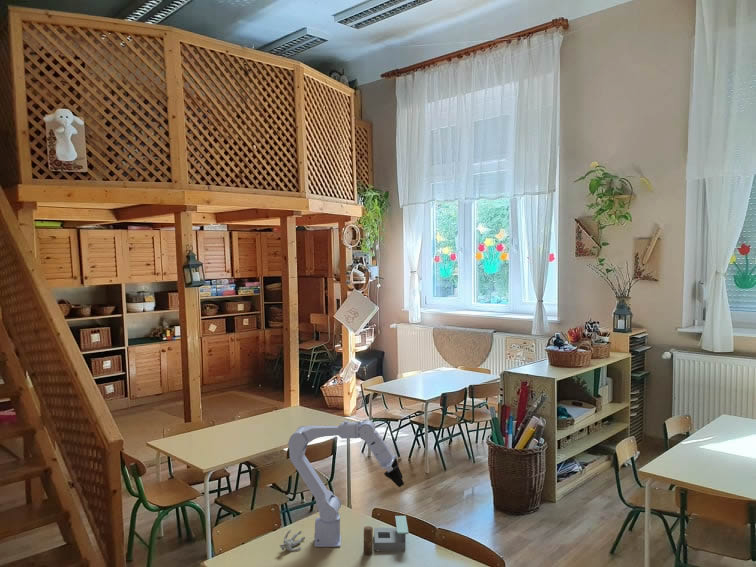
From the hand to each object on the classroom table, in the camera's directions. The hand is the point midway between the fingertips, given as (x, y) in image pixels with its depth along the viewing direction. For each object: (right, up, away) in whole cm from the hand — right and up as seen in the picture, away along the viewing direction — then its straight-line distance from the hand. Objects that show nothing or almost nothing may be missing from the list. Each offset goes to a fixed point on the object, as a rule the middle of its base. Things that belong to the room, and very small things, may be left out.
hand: (401, 482), depth 200 cm
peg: (-12, -24, -3) cm, 27 cm away
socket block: (-4, -24, +4) cm, 24 cm away
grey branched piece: (-40, -24, +1) cm, 46 cm away
